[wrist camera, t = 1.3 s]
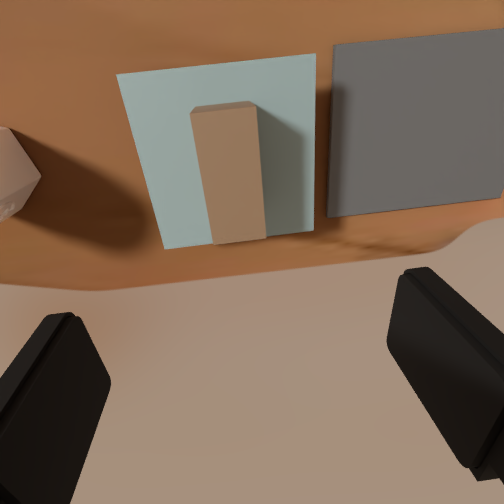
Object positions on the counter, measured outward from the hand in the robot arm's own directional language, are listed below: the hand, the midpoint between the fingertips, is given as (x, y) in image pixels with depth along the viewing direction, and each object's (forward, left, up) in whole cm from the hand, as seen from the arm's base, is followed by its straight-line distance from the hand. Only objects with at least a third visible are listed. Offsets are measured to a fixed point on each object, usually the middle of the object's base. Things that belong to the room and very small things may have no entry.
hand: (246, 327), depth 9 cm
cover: (0, 0, -19) cm, 19 cm away
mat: (-18, +10, -24) cm, 31 cm away
